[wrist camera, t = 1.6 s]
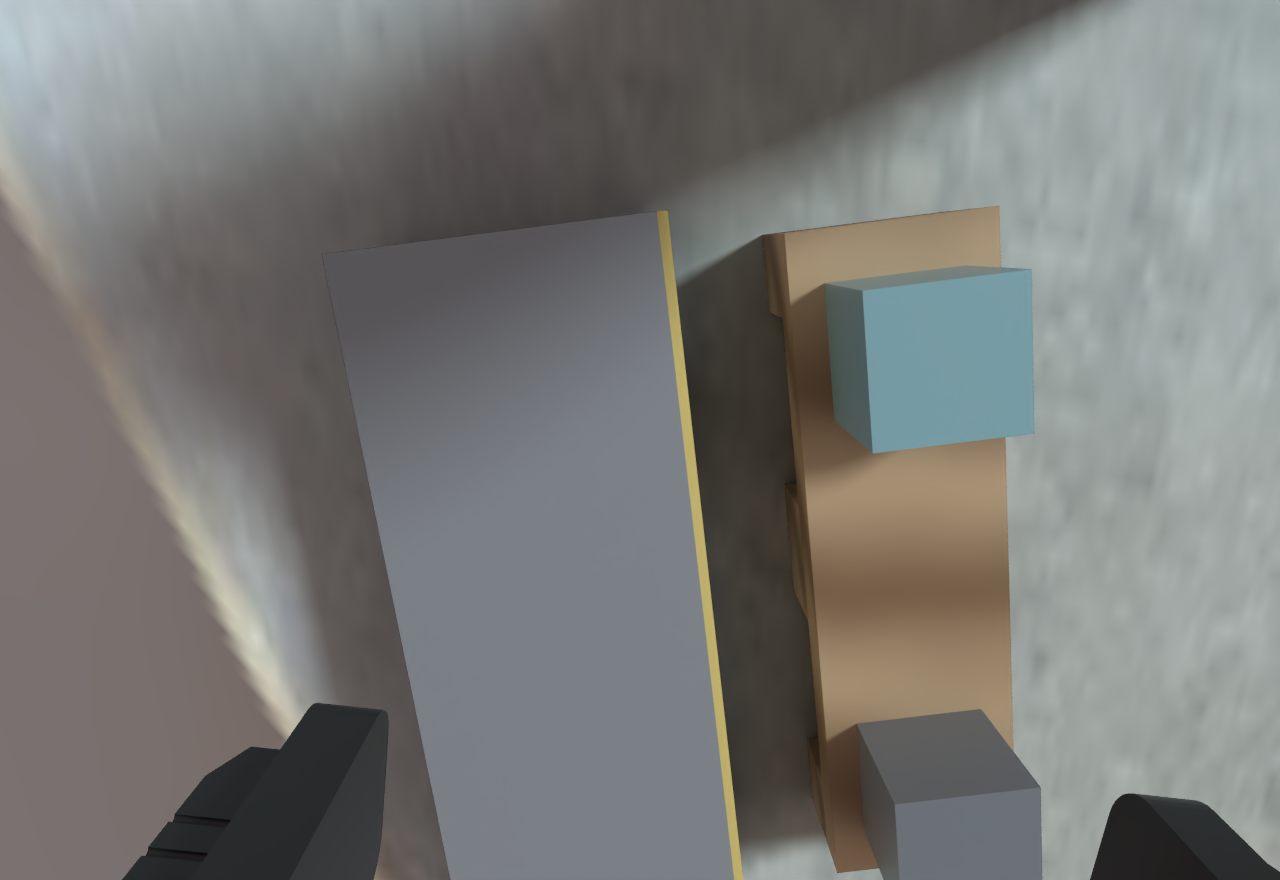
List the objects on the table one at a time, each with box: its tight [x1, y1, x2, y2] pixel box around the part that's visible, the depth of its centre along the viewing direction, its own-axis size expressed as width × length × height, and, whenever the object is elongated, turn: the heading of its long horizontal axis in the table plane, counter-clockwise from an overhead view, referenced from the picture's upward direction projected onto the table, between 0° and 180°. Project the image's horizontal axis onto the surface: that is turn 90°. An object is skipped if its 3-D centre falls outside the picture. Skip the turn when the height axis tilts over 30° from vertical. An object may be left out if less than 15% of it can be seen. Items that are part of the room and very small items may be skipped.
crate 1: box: [824, 265, 1034, 453], centre depth 22 cm, size 4×4×4 cm
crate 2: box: [856, 709, 1042, 880], centre depth 25 cm, size 4×4×4 cm
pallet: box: [762, 206, 1013, 873], centre depth 28 cm, size 21×6×4 cm, turn 7°
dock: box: [322, 210, 743, 880], centre depth 27 cm, size 9×23×5 cm, turn 7°
